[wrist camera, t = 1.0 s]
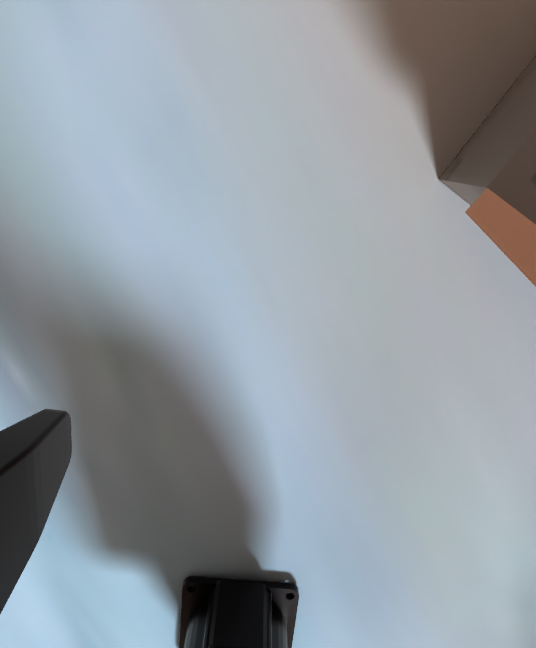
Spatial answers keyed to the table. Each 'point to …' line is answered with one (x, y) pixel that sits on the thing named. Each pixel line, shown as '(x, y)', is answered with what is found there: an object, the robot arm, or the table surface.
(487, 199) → the lid
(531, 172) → the storage box
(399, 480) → the table surface
